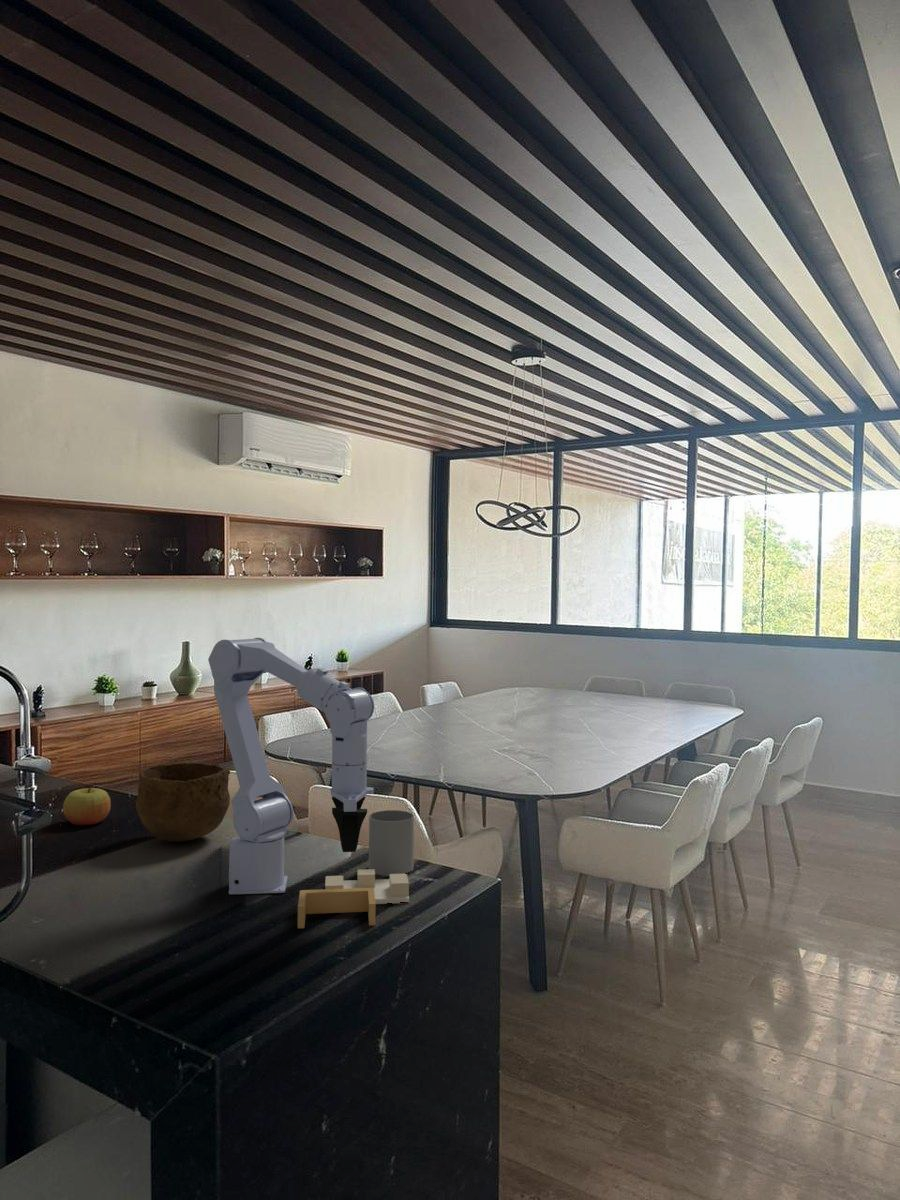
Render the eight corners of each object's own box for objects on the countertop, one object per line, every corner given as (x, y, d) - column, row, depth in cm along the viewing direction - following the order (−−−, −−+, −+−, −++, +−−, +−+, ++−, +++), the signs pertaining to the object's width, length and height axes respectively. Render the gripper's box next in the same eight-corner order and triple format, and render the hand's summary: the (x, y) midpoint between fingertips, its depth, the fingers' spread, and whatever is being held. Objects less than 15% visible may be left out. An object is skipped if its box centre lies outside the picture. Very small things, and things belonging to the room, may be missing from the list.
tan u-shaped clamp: (375, 925, 135) (375, 903, 135) (297, 928, 134) (297, 906, 134) (373, 908, 142) (373, 887, 142) (299, 911, 141) (300, 890, 141)
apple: (99, 829, 189) (99, 792, 189) (55, 828, 189) (55, 792, 189) (117, 817, 198) (117, 782, 198) (75, 817, 199) (75, 782, 199)
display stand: (409, 902, 145) (409, 885, 145) (324, 905, 143) (325, 887, 143) (404, 883, 155) (405, 866, 155) (326, 885, 153) (326, 868, 153)
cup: (406, 877, 158) (407, 822, 158) (363, 874, 160) (363, 820, 160) (417, 863, 166) (417, 811, 166) (376, 860, 168) (376, 809, 168)
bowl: (249, 836, 184) (249, 766, 183) (178, 859, 168) (178, 782, 168) (189, 823, 194) (189, 757, 194) (117, 843, 178) (117, 771, 178)
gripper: (376, 771, 136) (375, 857, 136) (371, 754, 150) (370, 831, 151) (330, 771, 135) (330, 858, 135) (330, 754, 149) (330, 832, 150)
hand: (348, 844), depth 143 cm, fingers open, 7 cm apart
